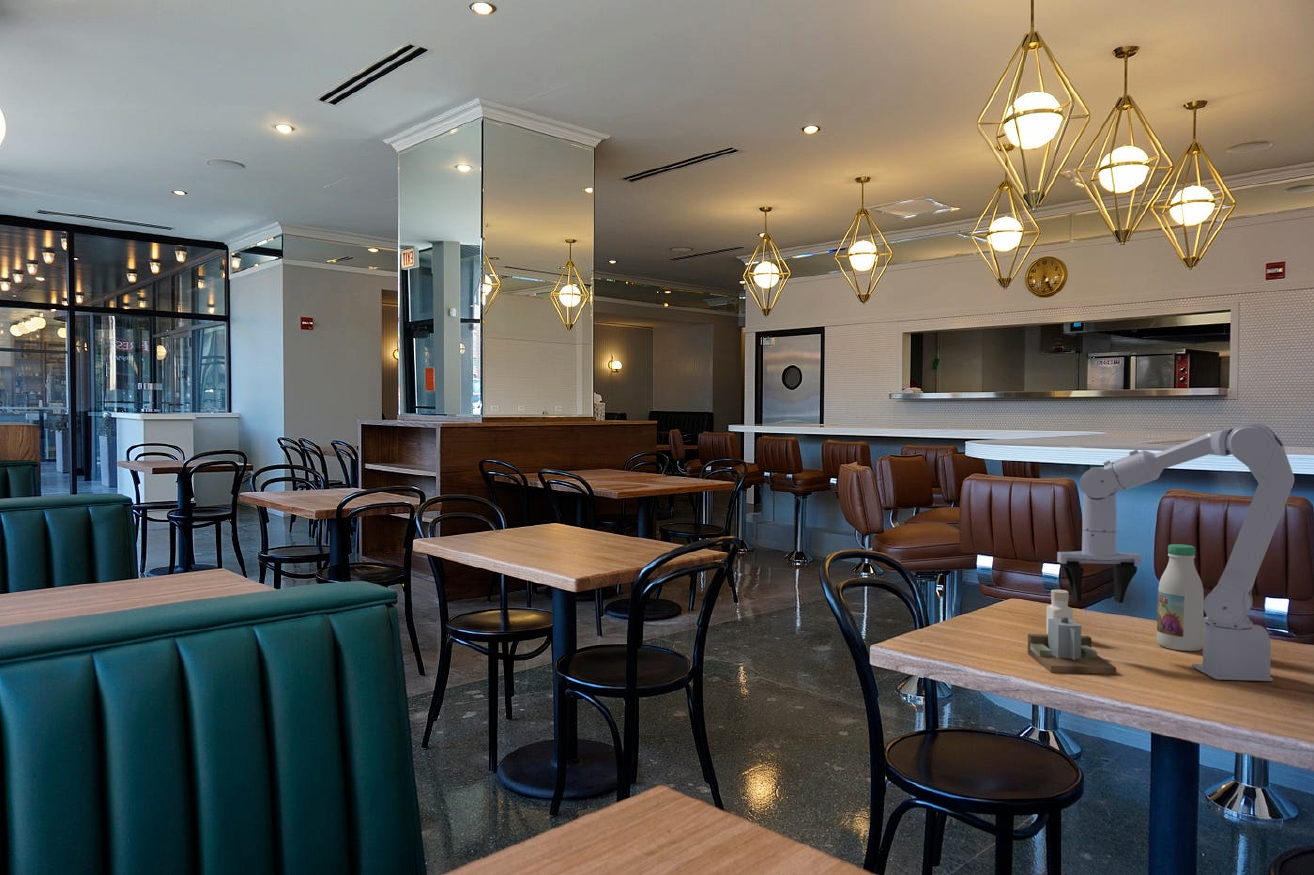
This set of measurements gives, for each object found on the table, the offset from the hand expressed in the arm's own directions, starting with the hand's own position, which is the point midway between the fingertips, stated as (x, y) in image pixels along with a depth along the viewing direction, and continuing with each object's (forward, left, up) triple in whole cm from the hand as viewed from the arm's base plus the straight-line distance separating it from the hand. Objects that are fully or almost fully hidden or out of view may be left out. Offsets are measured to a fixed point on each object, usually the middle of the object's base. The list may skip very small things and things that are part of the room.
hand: (1097, 601), depth 164 cm
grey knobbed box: (+8, +8, -9) cm, 14 cm away
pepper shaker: (+3, -11, -10) cm, 15 cm away
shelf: (+8, +8, -10) cm, 15 cm away
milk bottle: (-18, -6, -10) cm, 22 cm away
